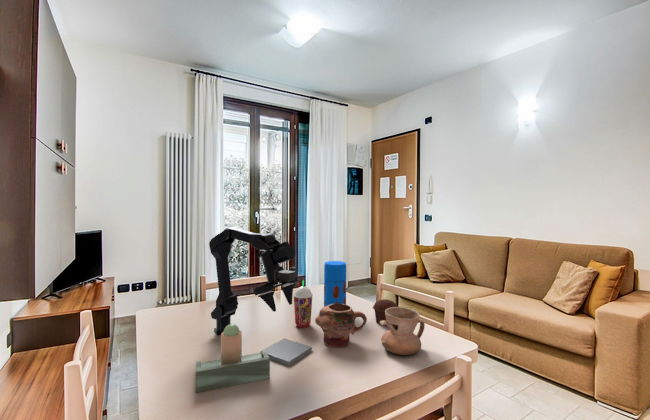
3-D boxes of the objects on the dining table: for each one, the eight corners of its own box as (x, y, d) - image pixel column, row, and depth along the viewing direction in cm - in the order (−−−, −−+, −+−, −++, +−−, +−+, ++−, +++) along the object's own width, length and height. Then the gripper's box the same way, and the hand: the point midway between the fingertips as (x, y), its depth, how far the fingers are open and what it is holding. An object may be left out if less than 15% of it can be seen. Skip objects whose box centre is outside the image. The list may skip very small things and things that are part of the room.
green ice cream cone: (219, 362, 102) (219, 322, 102) (238, 357, 106) (239, 319, 105) (223, 371, 97) (223, 329, 97) (243, 366, 100) (243, 326, 100)
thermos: (349, 312, 155) (350, 262, 155) (339, 319, 146) (339, 266, 146) (331, 308, 161) (331, 260, 161) (319, 314, 152) (319, 263, 152)
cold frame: (196, 369, 101) (196, 351, 101) (261, 358, 109) (261, 341, 109) (196, 392, 89) (196, 372, 89) (269, 378, 97) (269, 358, 97)
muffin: (397, 318, 148) (397, 297, 148) (400, 327, 137) (400, 304, 137) (371, 317, 150) (372, 296, 149) (373, 326, 139) (373, 303, 138)
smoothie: (309, 330, 134) (310, 283, 133) (290, 328, 136) (291, 282, 135) (314, 322, 142) (314, 278, 142) (296, 321, 144) (296, 277, 143)
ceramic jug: (387, 361, 108) (388, 320, 107) (371, 342, 122) (373, 306, 121) (434, 357, 112) (436, 318, 111) (414, 339, 126) (415, 304, 125)
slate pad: (260, 355, 111) (260, 351, 111) (284, 342, 122) (284, 338, 122) (288, 366, 104) (288, 361, 104) (311, 350, 115) (311, 346, 115)
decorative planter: (362, 334, 130) (362, 301, 129) (369, 348, 118) (370, 311, 117) (313, 336, 127) (314, 302, 127) (316, 350, 115) (316, 313, 115)
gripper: (270, 265, 106) (283, 311, 103) (302, 257, 122) (314, 297, 119) (248, 272, 111) (259, 316, 109) (281, 264, 127) (292, 302, 125)
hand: (283, 307), depth 115 cm, fingers open, 9 cm apart
